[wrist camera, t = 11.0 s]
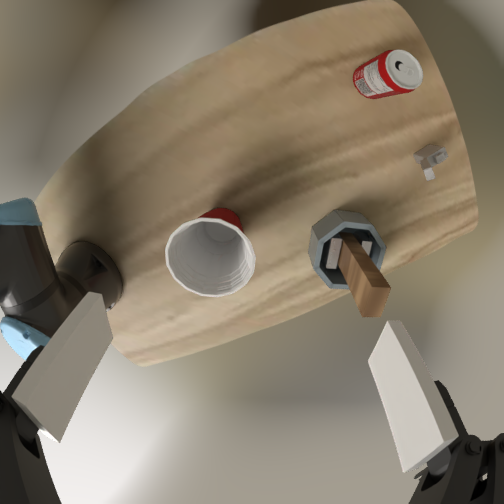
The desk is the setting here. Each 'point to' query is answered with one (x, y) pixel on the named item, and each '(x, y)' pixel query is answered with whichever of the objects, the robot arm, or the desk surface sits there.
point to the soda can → (388, 75)
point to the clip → (334, 244)
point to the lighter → (430, 158)
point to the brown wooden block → (362, 277)
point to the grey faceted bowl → (332, 226)
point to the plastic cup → (211, 254)
